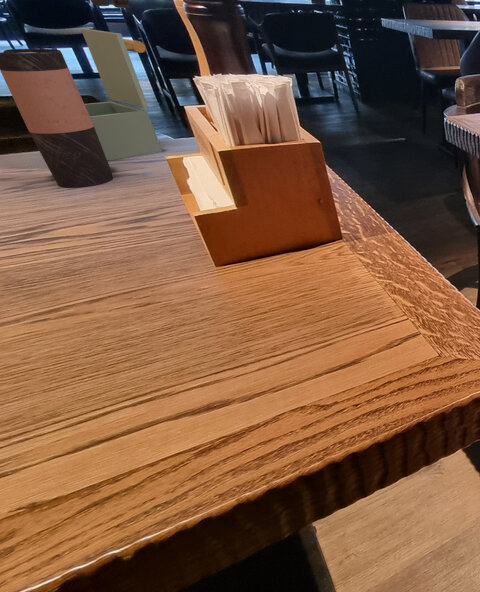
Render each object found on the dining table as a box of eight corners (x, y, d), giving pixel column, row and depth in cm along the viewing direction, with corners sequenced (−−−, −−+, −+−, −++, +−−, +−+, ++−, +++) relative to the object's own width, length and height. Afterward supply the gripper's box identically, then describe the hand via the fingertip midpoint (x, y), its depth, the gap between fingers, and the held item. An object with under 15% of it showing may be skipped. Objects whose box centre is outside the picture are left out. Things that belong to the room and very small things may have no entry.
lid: (115, 33, 90) (151, 33, 94) (80, 28, 97) (115, 28, 101) (143, 108, 96) (176, 104, 100) (109, 99, 103) (140, 96, 107)
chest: (89, 170, 92) (66, 119, 88) (57, 157, 99) (34, 108, 95) (164, 157, 101) (147, 110, 97) (130, 146, 108) (112, 101, 103)
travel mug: (124, 180, 89) (70, 51, 79) (66, 191, 83) (0, 54, 73) (103, 172, 92) (49, 47, 82) (47, 182, 86) (-19, 49, 77)
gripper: (24, -107, 86) (70, 5, 94) (57, -112, 80) (103, 8, 88) (81, -99, 92) (120, 6, 100) (116, -104, 86) (155, 8, 94)
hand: (112, 6), depth 94 cm, fingers open, 8 cm apart
